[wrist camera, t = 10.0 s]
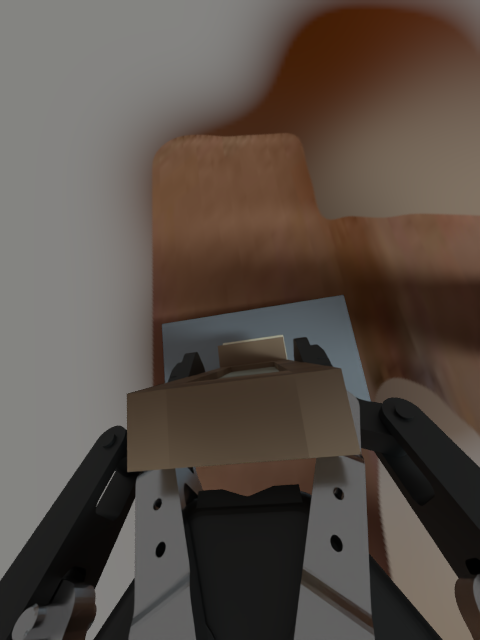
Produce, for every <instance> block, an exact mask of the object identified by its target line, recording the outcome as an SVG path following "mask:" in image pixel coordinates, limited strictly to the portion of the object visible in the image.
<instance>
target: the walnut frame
mask: <svg viewBox="0 0 480 640" xmlns="http://www.w3.org/2000/svg"><path fill="white" fill-rule="evenodd" d="M218 354H219V364H220V368H218V369H214V370H211V371H207V372H204V373H200V374H197V375H193V376H190V377H186V378H182V379H178V380H175V381H171V382H168V383H164V384H161V385H157V386H153V387H150V388H146V389H143V390H139V391H135V392H132V393H128V394H127V472H134V471H148V470H161V469H174V468H187V467H200V466H214V465H227V464H240V463H253V462H266V461H279V460H293V459H306V458H319V457H332V456H345V455H359V454H361V452H360V448H359V443H358V439H357V434H356V430H355V426H354V421H353V417H352V413H351V408H350V404H349V400H348V395H347V391H346V387H345V382H344V378H343V374H342V369H341V368H337V367H330V366H324V365H318V364H312V363H306V362H298V361H294V360H287V357H286V352H285V346H284V340H283V337H277V338H270V339H263V340H256V341H249V342H241V343H234V344H227V345H220V346H218Z"/></svg>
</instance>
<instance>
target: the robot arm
mask: <svg viewBox="0 0 480 640" xmlns="http://www.w3.org/2000/svg"><path fill="white" fill-rule="evenodd" d="M293 347H294V361H298V362H306V363H312V364H318V365H324V366H330V367H333V365H332V364H331V362H330V360H329V358H328V356H327V354H326V353H325V351H324V349H322V348H321V347H320V346H319V345H317V344H315V345H310V343H309V341H308V339H307V337H301V338H294V339H293ZM204 372H205V368H204V366H203V363H202V361H201V358H200V356H199V354H198V352H193V353H186V354H185V355H184V357H183V360H182V362H180V363H177V364H176V366H175V367H174V368H173V369H172V372H171V374H170V378H169V380H168V382H171V381H175V380H178V379H182V378H186V377H190V376H193V375H197V374H200V373H204ZM168 382H167V383H168ZM346 391H347V390H346ZM347 395H348V400H349V404H350V408H351V413H352V417H353V421H354V426H355V430H356V434H357V439H358V443H359V448H360V452H361V448H364V449H368V450H372V451H374V452H375V453H376V455H377V456H378V458H379V459H380V461H381V462H382V464H383V465H384V467H385V468H386V470H387V471H388V473H389V474H390V476H391V477H392V479H393V480H394V482H395V483H396V485H397V486H398V488H399V489H400V491H401V492H402V494H403V495H404V497H405V498H406V500H407V501H408V503H409V504H410V506H411V507H412V509H413V510H414V512H415V513H416V515H417V516H418V518H419V519H420V521H421V522H422V524H423V525H424V527H425V528H426V530H427V531H428V533H429V534H430V536H431V537H432V539H433V540H434V542H435V543H436V545H437V546H438V548H439V549H440V551H441V552H442V554H443V555H444V557H445V558H446V560H447V561H448V563H449V564H450V566H451V567H452V569H453V570H454V572H455V573H456V575H457V576H458V578H459V579H458V580H457V581H456V584H455V597H456V602H457V605H458V607H459V610H460V612H461V615H462V617H463V619H464V621H465V623H466V624H467V627H468V629H469V630H470V632H471V634H472V637H473V639H474V640H480V467H478V465H476V463H474V462H473V461H472V460H471V459H470V458H469V457H468V456H467V455H466V454H465V453H464V452H463V451H462V450H461V449H460V448H459V447H458V446H457V445H456V444H455V443H454V442H453V441H452V440H451V439H450V438H449V437H448V436H447V435H446V434H445V433H444V432H443V431H442V430H441V429H440V428H439V427H438V426H437V425H436V424H435V423H434V422H433V421H432V420H430V419H429V418H428V416H426V415H425V414H424V413H423V412H422V411H421V410H420V409H419V408H418V407H417V406H416V405H414V404H412V403H411V402H409V401H407V400H404V399H400V398H388V399H386V400H385V401H384V402H383V404H382V403H377V402H371V401H365V400H362V399H359V398H357V397H355V396H354V395H353V394H352V393H350V392H349V391H347ZM114 471H116V472H115V474H114V476H113V477H112V475H113V473H114ZM111 477H112V479H111V481H110V483H109V485H108V487H107V489H106V490H105V492H104V494H103V496H102V498H101V499H100V501H99V503H98V505H97V502H98V500H99V498H100V496H101V495H102V493H103V491H104V489H105V487H106V486H107V484H108V482H109V480H110V478H111ZM135 497H136V502H135V503H136V504H135V578H134V579H133V581H132V583H131V584H130V585H129V587H128V588H127V590H126V591H125V593H124V594H123V596H122V597H121V599H120V601H119V602H118V604H117V605H116V606H115V608H114V609H113V611H112V612H111V614H110V616H109V617H108V618H107V620H106V622H105V623H104V625H103V626H102V628H101V629H100V631H99V632H98V634H97V635H96V637H95V638H94V640H442V638H441V637H440V636H439V635H438V634H437V633H436V631H435V630H434V629H433V628H432V627H431V626H430V624H429V623H428V622H427V621H426V620H425V619H424V617H423V616H422V615H421V614H420V613H419V612H418V610H417V609H416V608H415V607H414V606H413V605H412V603H411V602H410V601H409V600H408V599H407V597H406V596H405V595H404V594H403V593H402V592H401V590H400V589H399V588H398V587H397V586H396V585H395V583H394V582H393V581H392V580H391V579H390V577H389V576H388V575H387V574H386V573H385V572H384V570H383V569H382V568H381V567H380V566H379V565H378V563H377V562H376V561H375V560H374V559H373V557H372V556H371V555H370V554H369V550H368V527H367V504H366V480H365V463H364V458H363V457H362V455H361V454H359V455H345V456H332V457H319V458H316V466H315V474H314V482H313V490H312V495H310V494H308V493H305V492H302V491H300V488H299V484H296V485H281V486H272V487H270V488H267V489H265V490H263V491H260V492H258V493H256V494H253V495H251V496H243V495H239V494H236V493H233V492H229V491H226V490H223V489H221V490H205V491H203V489H202V486H201V483H200V481H199V479H198V476H197V472H196V468H195V467H187V468H174V469H161V470H148V471H134V472H127V430H126V429H124V428H123V427H122V426H114V427H112V428H110V429H108V430H107V431H106V432H104V433H103V434H102V435H101V436H100V437H99V439H98V440H97V441H96V443H95V444H94V446H93V447H92V449H91V450H90V452H89V453H88V454H87V456H86V457H85V459H84V460H83V462H82V463H81V465H80V466H79V468H78V469H77V471H76V472H75V473H74V475H73V476H72V478H71V479H70V481H69V482H68V483H67V485H66V486H65V488H64V489H63V491H62V492H61V494H60V495H59V497H58V498H57V500H56V501H55V502H54V504H53V505H52V507H51V508H50V510H49V511H48V512H47V514H46V515H45V517H44V518H43V520H42V521H41V523H40V524H39V526H38V527H37V528H36V530H35V531H34V533H33V534H32V536H31V537H30V539H29V540H28V542H27V543H26V545H25V546H24V547H23V549H22V551H21V552H20V553H19V555H18V556H17V558H16V559H15V561H14V562H13V563H12V565H11V566H10V568H9V569H8V571H7V572H6V573H5V575H4V576H3V578H2V579H1V581H0V640H85V636H86V633H87V631H88V629H89V628H90V627H91V625H92V623H93V621H94V619H95V616H96V605H95V587H96V585H97V583H98V581H99V578H100V576H101V574H102V572H103V569H104V567H105V565H106V563H107V560H108V558H109V556H110V553H111V551H112V549H113V547H114V544H115V542H116V540H117V537H118V535H119V533H120V531H121V528H122V526H123V524H124V522H125V519H126V517H127V514H128V512H129V510H130V508H131V505H132V503H133V501H134V499H135ZM96 505H97V507H96Z"/></svg>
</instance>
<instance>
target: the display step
mask: <svg viewBox="0 0 480 640" xmlns="http://www.w3.org/2000/svg"><path fill="white" fill-rule="evenodd" d="M162 334H163V353H164V373H165V383H167V382H168V380H169V378H170V374H171V372H172V369H173V368H174V367H175V366H176V364H177V363H180V362H182V360H183V357H184V355H185V354H186V353H193V352H198V354H199V356H200V358H201V361H202V363H203V366H204V368H205V372H207V371H211V370H214V369H218V368H220V364H219V354H218V346H220V345H227V344H234V343H241V342H249V341H256V340H263V339H270V338H277V337H283V340H284V346H285V352H286V357H287V360H294V347H293V339H294V338H301V337H307V339H308V341H309V343H310V345H315V344H317V345H319V346H320V347H321V348H322V349H324V351H325V353H326V354H327V356H328V358H329V360H330V362H331V364H332V365H333V367H337V368H341V369H342V374H343V378H344V382H345V387H346V390H347V391H349V392H350V393H352V394H353V395H354V396H355V397H357V398H359V399H362V400H365V401H370V397H369V393H368V389H367V385H366V381H365V377H364V373H363V369H362V365H361V361H360V357H359V353H358V349H357V346H356V342H355V338H354V334H353V330H352V326H351V322H350V318H349V314H348V310H347V306H346V302H345V298H344V295H340V296H334V297H327V298H321V299H315V300H309V301H302V302H296V303H290V304H284V305H278V306H271V307H265V308H259V309H253V310H247V311H240V312H234V313H228V314H222V315H216V316H209V317H203V318H197V319H191V320H185V321H178V322H172V323H166V324H162Z"/></svg>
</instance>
